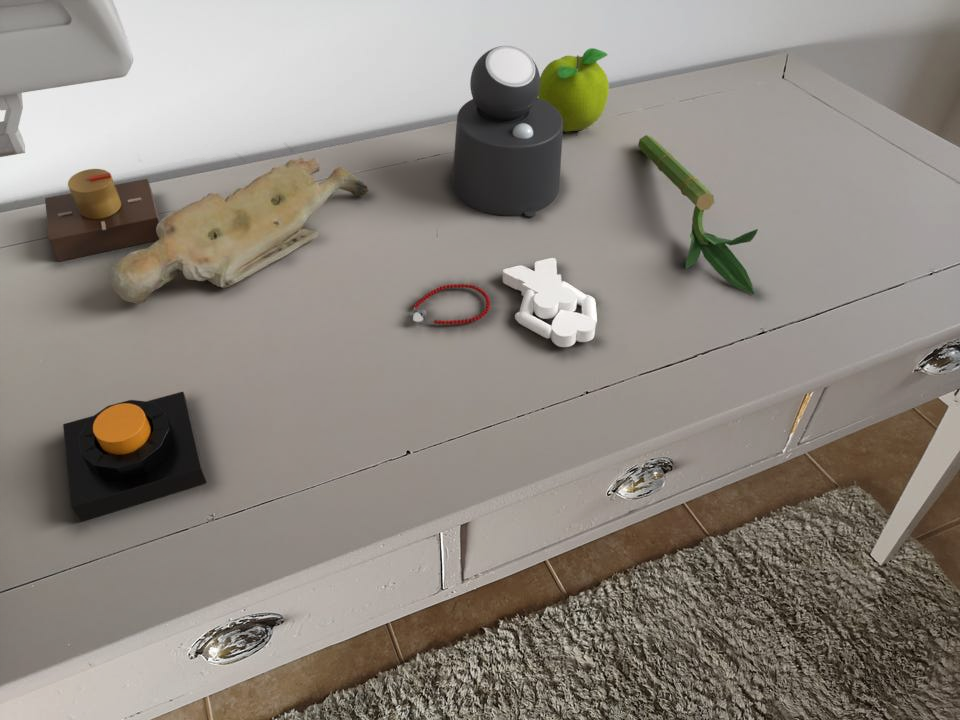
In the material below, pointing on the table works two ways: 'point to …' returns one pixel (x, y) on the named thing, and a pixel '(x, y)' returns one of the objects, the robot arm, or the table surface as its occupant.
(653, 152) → the decorative plant
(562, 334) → the white abstract figurine
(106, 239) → the dimmer panel
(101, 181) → the dimmer knob
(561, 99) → the fruit
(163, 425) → the switch box
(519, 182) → the light fixture
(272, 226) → the statue
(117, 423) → the light button
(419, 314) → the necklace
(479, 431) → the table surface
